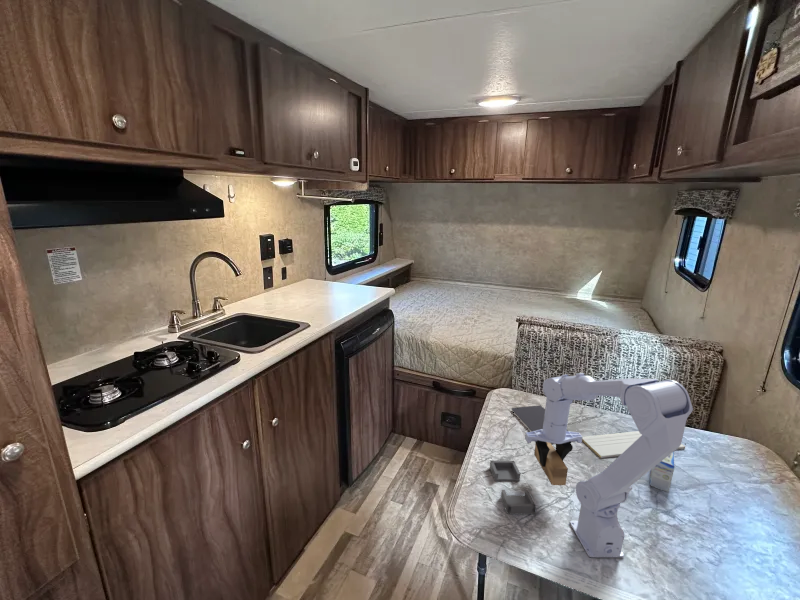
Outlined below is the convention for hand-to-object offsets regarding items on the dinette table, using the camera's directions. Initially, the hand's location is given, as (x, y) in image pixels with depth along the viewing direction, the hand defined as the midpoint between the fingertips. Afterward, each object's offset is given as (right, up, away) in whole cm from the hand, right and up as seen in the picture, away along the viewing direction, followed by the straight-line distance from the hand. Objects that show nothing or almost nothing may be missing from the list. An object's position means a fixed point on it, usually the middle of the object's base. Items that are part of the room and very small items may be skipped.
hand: (549, 464), depth 98 cm
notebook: (+10, -1, +32) cm, 34 cm away
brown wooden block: (0, -2, +1) cm, 2 cm away
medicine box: (+34, -8, +6) cm, 35 cm away
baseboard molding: (+36, -4, +23) cm, 43 cm away
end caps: (-10, -8, +2) cm, 13 cm away
